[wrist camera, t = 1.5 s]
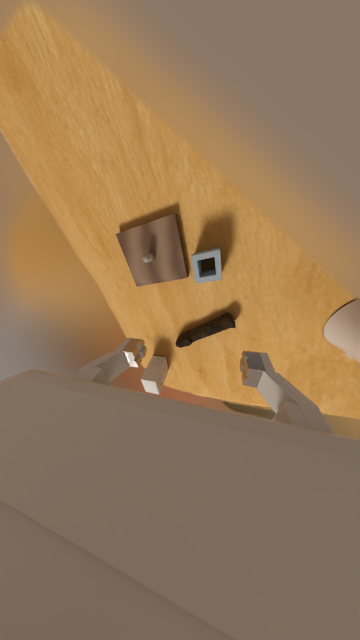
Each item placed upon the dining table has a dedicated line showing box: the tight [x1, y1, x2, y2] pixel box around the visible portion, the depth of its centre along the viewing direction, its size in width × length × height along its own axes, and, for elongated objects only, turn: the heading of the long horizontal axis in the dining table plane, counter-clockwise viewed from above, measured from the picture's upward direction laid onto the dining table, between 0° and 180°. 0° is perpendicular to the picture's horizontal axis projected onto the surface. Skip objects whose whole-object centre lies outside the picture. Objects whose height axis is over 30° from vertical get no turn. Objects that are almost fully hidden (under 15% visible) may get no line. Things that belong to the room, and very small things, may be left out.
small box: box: [141, 355, 168, 394], centre depth 49 cm, size 8×6×10 cm
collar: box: [191, 247, 222, 283], centre depth 27 cm, size 5×5×5 cm
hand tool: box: [176, 312, 235, 348], centre depth 37 cm, size 19×4×5 cm, turn 126°
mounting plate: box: [116, 213, 188, 286], centre depth 29 cm, size 14×12×5 cm
